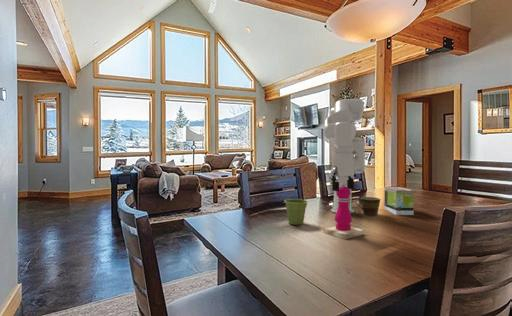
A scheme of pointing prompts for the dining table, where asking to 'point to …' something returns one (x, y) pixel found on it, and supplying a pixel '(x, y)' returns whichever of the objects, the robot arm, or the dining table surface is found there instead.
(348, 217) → the pepper mill
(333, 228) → the maple base
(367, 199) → the ceramic cup
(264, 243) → the dining table surface
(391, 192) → the tea box
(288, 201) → the plant pot
